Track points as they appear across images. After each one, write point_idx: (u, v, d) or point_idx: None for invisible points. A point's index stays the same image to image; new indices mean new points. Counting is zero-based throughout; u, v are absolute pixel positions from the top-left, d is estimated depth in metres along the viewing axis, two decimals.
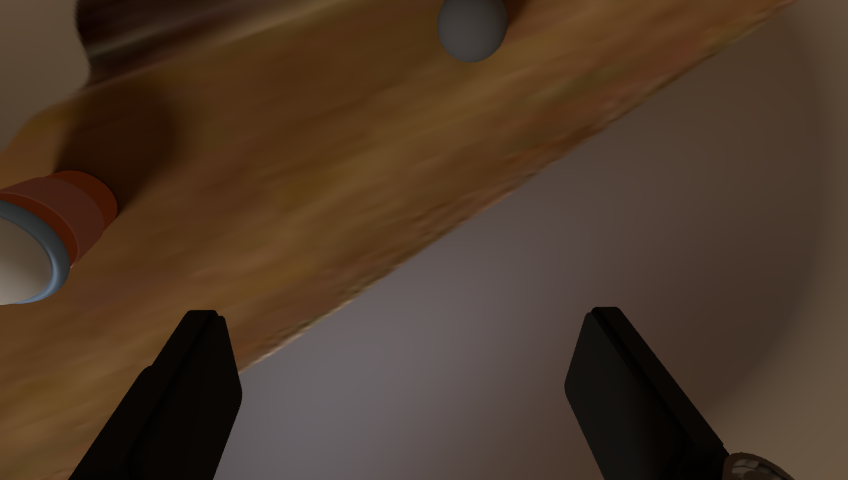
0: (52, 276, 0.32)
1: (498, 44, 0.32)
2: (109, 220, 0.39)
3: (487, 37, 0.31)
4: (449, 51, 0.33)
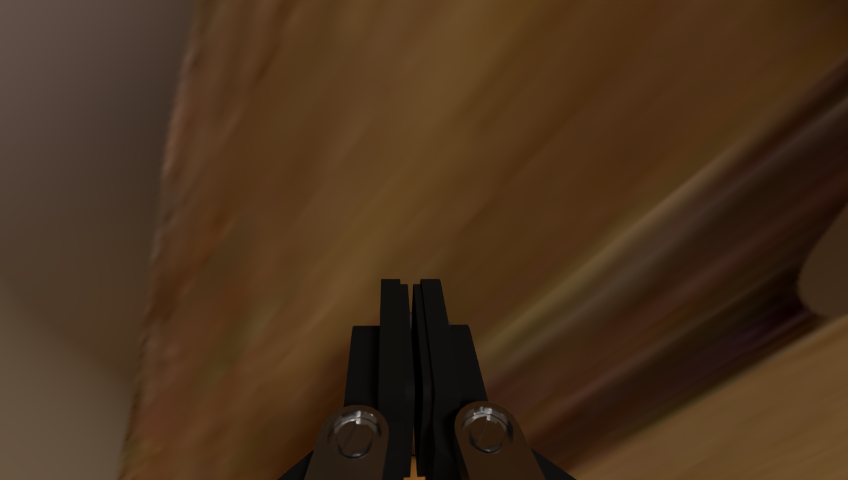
0: None
1: None
2: None
3: None
4: None
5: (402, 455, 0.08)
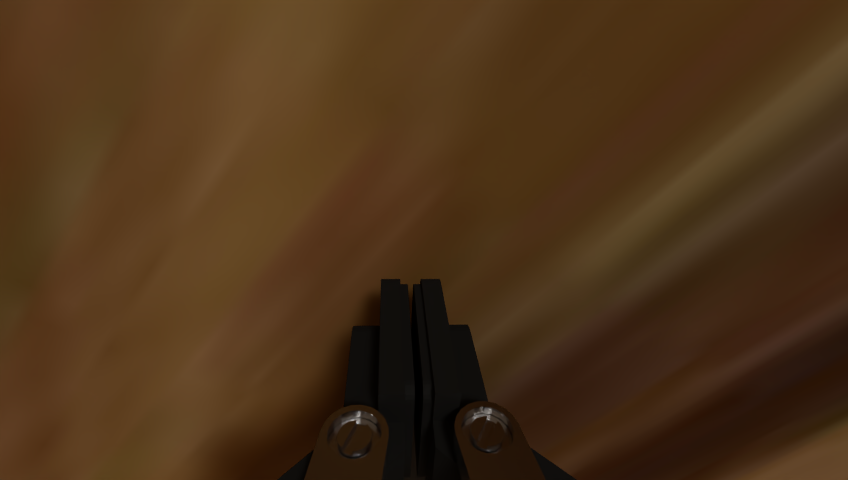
0: None
1: None
2: None
3: None
4: None
5: (402, 455, 0.08)
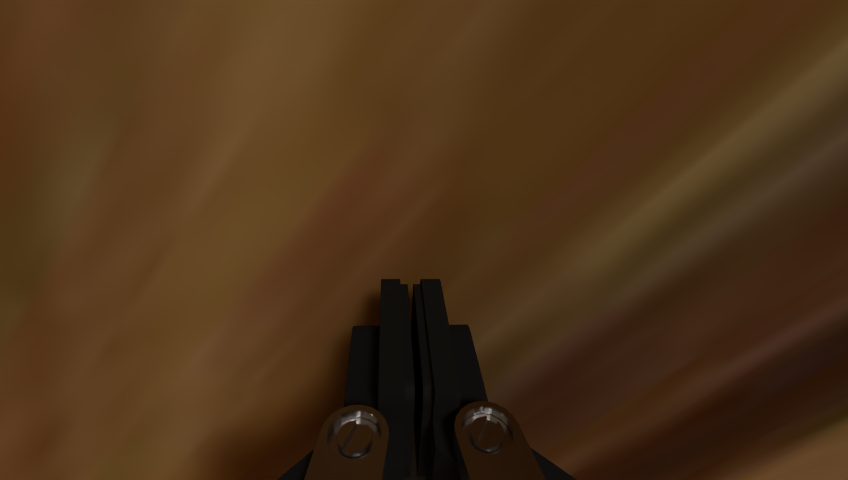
0: None
1: None
2: None
3: None
4: None
5: (402, 455, 0.08)
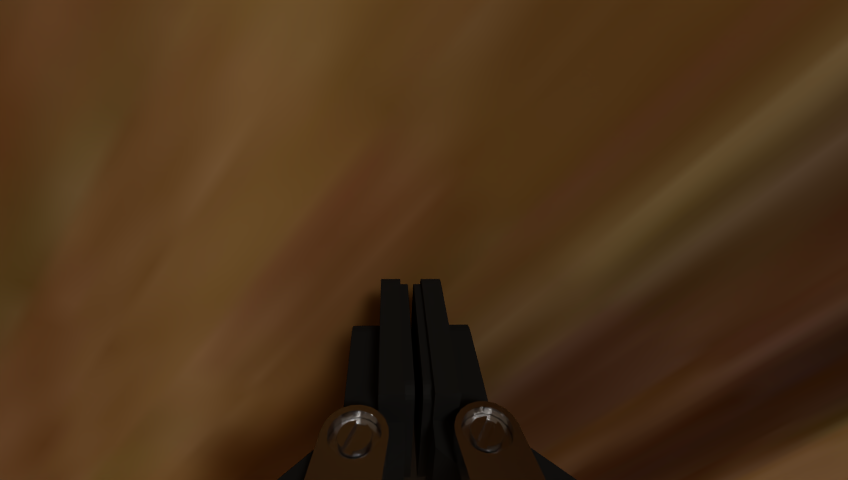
0: None
1: None
2: None
3: None
4: None
5: (402, 455, 0.08)
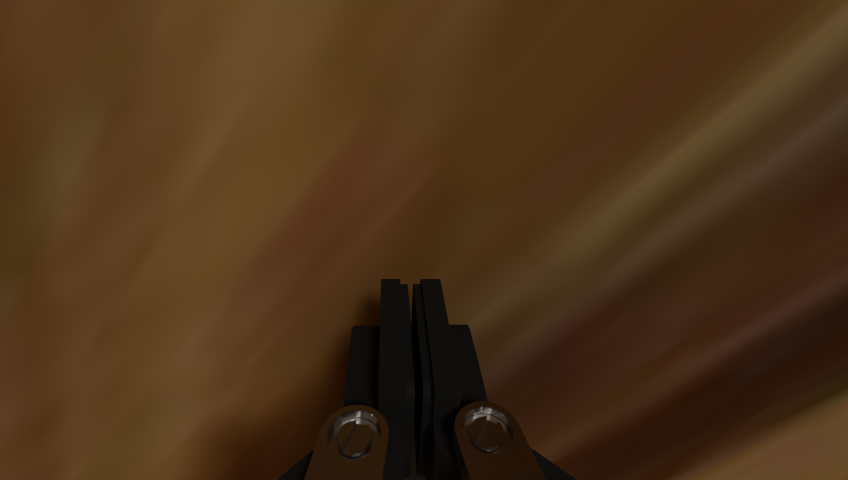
0: None
1: None
2: None
3: None
4: None
5: (402, 455, 0.08)
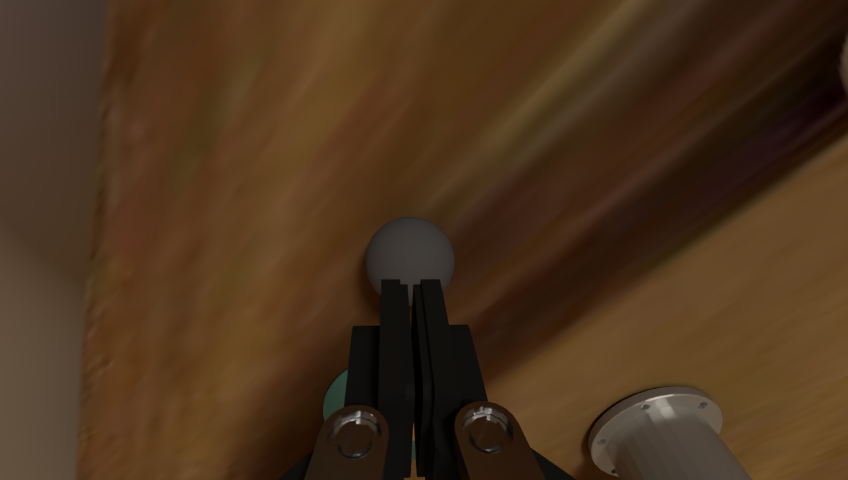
0: None
1: None
2: None
3: None
4: None
5: (402, 455, 0.08)
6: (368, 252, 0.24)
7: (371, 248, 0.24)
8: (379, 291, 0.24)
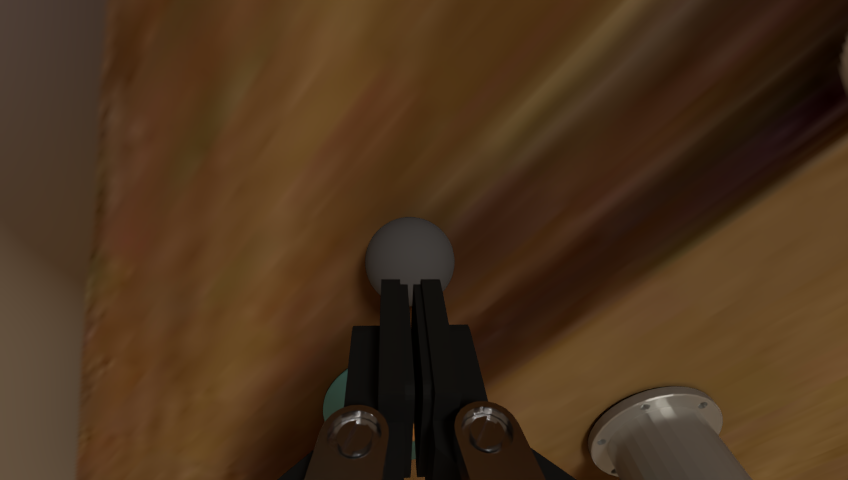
0: None
1: None
2: None
3: None
4: None
5: (402, 455, 0.08)
6: (368, 252, 0.24)
7: (371, 248, 0.24)
8: (379, 291, 0.24)
